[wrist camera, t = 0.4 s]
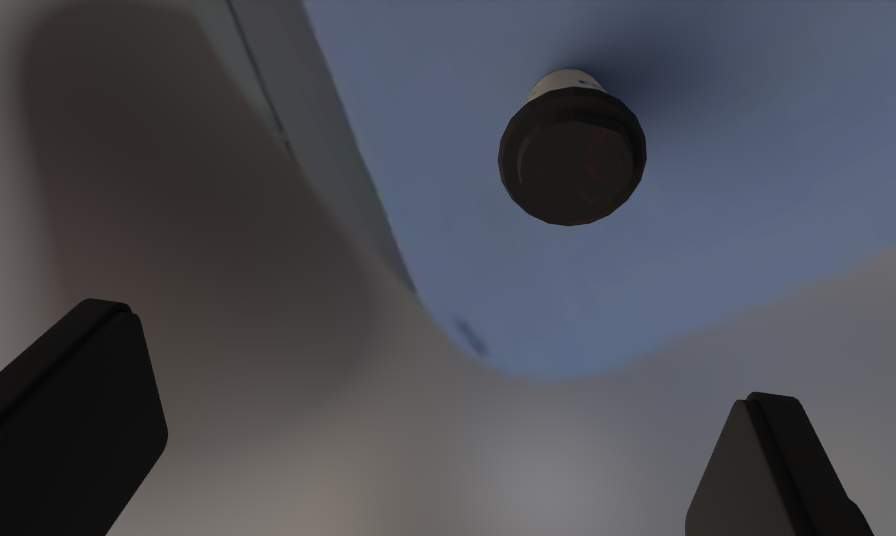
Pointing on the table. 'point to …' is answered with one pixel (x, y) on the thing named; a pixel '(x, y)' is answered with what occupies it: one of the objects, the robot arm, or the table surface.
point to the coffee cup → (571, 151)
